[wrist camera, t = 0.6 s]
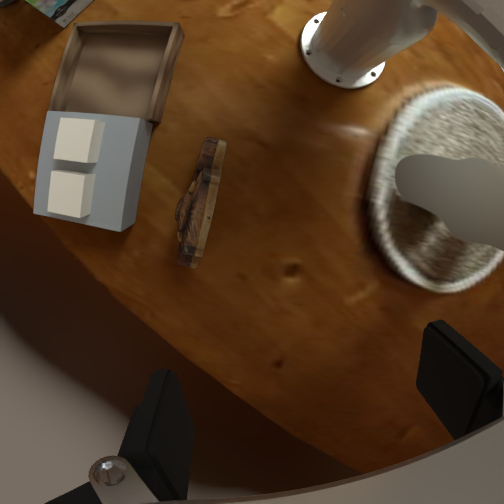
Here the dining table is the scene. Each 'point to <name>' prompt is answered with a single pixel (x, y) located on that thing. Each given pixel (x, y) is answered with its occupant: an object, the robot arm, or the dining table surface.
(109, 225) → the grey square block
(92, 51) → the box
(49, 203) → the cream upright block
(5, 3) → the planter
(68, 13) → the tea box
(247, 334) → the dining table surface
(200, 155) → the wooden carving
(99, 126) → the cream square-faced block
